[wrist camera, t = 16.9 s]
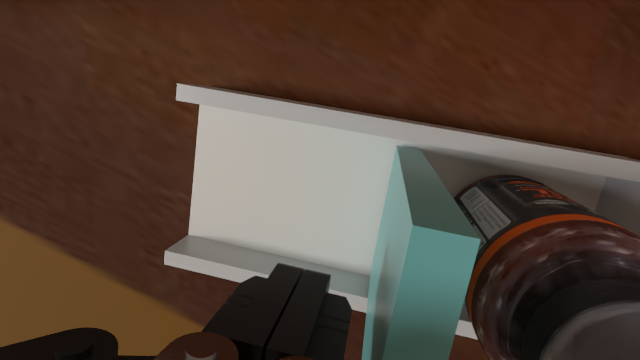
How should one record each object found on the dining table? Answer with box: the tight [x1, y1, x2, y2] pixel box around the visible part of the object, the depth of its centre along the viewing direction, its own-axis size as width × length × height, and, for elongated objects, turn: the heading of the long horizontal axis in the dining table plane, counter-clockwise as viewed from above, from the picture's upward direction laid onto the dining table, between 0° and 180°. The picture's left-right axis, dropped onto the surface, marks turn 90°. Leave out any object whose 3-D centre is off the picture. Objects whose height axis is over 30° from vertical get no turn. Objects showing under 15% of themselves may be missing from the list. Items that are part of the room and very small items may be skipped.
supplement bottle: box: [454, 175, 640, 360], centre depth 14 cm, size 6×6×11 cm
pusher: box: [362, 145, 481, 360], centre depth 14 cm, size 1×7×13 cm, turn 171°
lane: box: [164, 84, 640, 339], centre depth 19 cm, size 22×10×6 cm, turn 81°
